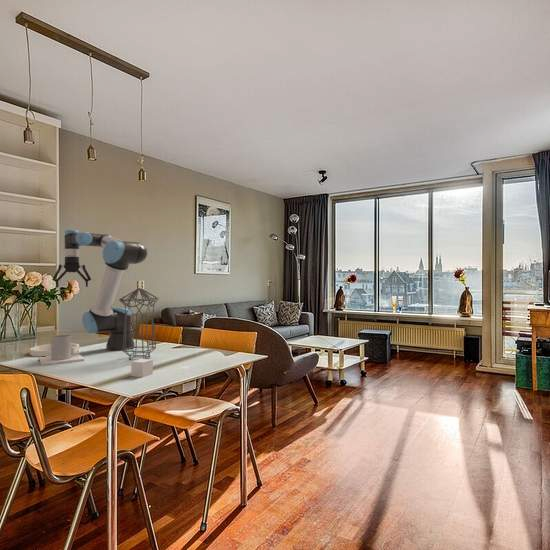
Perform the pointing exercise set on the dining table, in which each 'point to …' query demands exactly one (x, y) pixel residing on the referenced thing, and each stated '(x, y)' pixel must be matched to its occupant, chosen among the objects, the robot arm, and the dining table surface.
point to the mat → (48, 360)
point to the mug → (61, 347)
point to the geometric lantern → (136, 321)
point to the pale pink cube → (141, 367)
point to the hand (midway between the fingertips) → (72, 292)
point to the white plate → (49, 350)
